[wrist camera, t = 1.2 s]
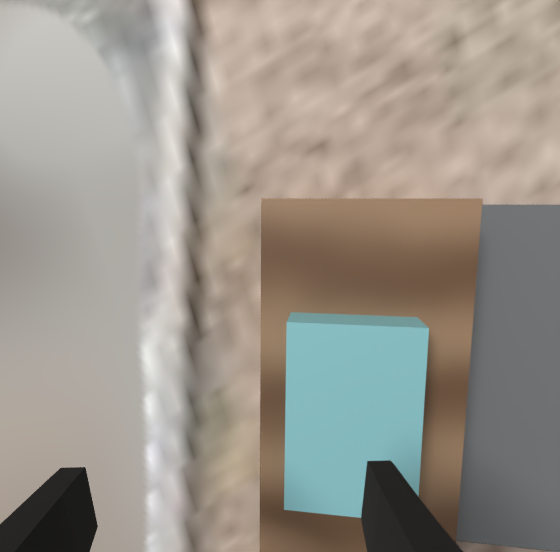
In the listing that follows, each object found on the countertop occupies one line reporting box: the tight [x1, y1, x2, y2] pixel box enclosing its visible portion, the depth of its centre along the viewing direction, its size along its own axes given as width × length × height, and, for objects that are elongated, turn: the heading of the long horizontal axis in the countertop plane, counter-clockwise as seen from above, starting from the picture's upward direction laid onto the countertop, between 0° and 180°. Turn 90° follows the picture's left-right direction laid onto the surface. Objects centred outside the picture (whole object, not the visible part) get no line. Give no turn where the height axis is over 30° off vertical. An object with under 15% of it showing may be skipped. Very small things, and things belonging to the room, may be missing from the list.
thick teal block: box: [284, 312, 429, 518], centre depth 17 cm, size 9×6×2 cm, turn 179°
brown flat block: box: [260, 199, 482, 552], centre depth 20 cm, size 20×10×4 cm, turn 179°
